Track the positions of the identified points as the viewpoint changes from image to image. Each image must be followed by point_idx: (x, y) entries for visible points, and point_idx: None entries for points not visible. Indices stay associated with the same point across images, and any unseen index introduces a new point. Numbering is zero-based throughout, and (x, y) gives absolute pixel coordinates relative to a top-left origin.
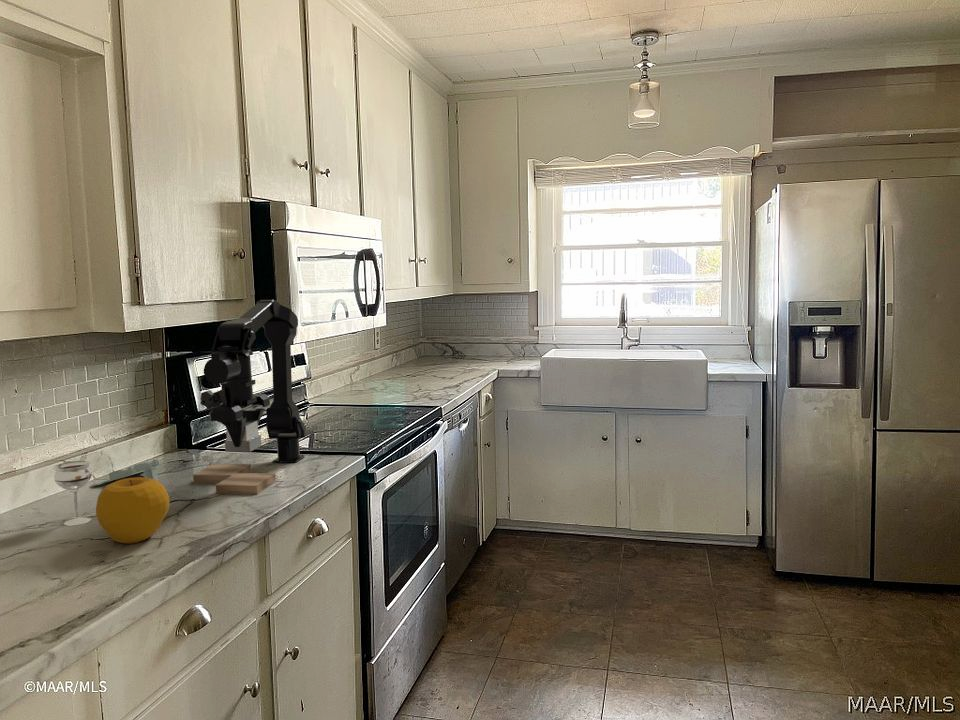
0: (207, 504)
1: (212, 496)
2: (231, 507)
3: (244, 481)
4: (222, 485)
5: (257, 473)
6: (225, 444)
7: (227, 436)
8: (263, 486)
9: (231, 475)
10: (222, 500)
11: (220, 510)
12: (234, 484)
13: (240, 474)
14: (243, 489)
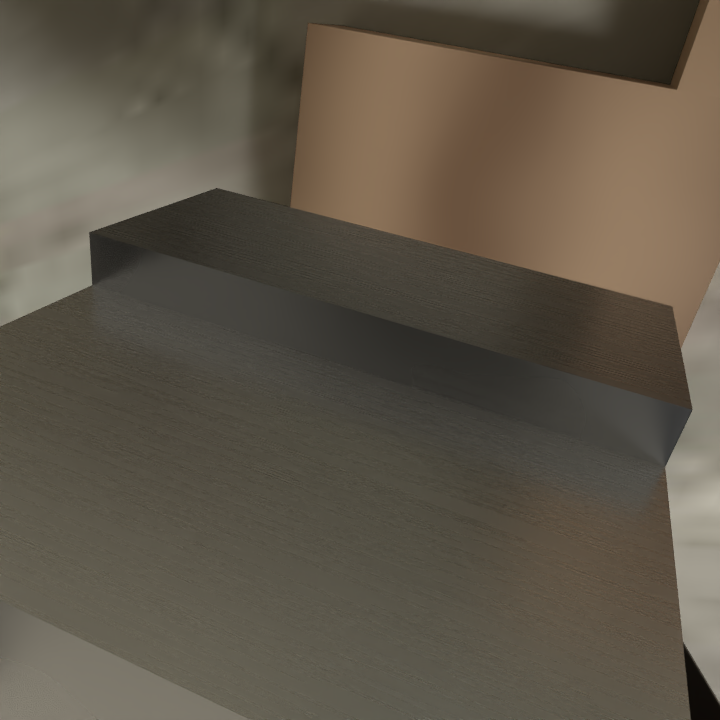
0: (93, 58)
1: (268, 20)
2: (62, 249)
3: None
4: (303, 101)
5: None
6: (142, 225)
7: (14, 337)
8: None
9: (681, 81)
10: (177, 147)
11: (10, 195)
12: None
13: (680, 187)
14: None
